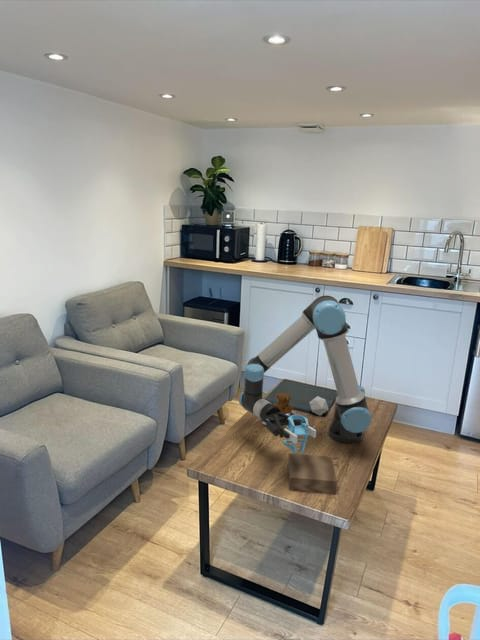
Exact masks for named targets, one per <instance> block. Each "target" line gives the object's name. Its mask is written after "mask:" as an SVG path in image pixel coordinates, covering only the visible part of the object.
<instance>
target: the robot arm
mask: <svg viewBox="0 0 480 640" xmlns="http://www.w3.org/2000/svg"><path fill="white" fill-rule="evenodd" d="M346 319H347V317H346V313H345V311H344V308H343V307H342V305H341V304H340V302H339V301H338V300H337V299H336V298H335V297H334V296H331V295H326V294H325V295H320V296H318V297H317V298H315V299H314V300H313V301H312V302H311V303H310V304H309V305H308V306H307V307H306V308H305V309H304V310H302V313H301V316H300V317H299V318H297V319H296V320H295V321H294V322H293V323H292V324H291V325H289V326H288V327H287V328H286V329H285V330H284V331H283V332H282V333H280V334H279V335H278V336H277V337H276V338H274V340H273V341H272V342H271V343H269V345H267V346H266V347H265V348H264V349H262V351H260V353H258V355H256V356H254V357H251V358H250V359H249V360H248V362H247V363H246V366H245V368H244V387H243V388H244V389H243V390H242V391H241V392H240V393H239V396H238V404H239V405H240V406H241V407H242V408H243V409H244V410H245V411H247V412H249V413H250V414H252V415H254V416H255V417H256V418H258V419H260V420H261V421H262V423H261V425H262V426H263V427H264V428H266V429H268V431H269V432H270V433H271V434H272V435H273V436H274V437H278V436H279V438H280V439H282V438H285V439H287V440H290V441H292V442H293V443H295V445H297V444H298V442H297V440H299V439H298V438H299V436H296V435H295V434H293V433H292V432H290V431H289V430H287V428H284V427H283V426H282V425H284V426H285V425H286V426H289V421H288V417H290V416H292V415H296V414H295V413H293V412H292V411H291V412H290V411H289V412H288V414H285V413H282V412H281V411H280V409H279V408H278V407H277V406H275V405H273V403H272V402H270V401H268V400H266V399H265V398H263V389H264V377H265V373H266V372H267V371H268V370H269V369H271V368H272V367H273V366H274V365H275V364H277V362H278V361H280V360H281V359H282V358H283V357H284V356H285V355H286V354H288V352H290V351H291V350H293V348H294V347H296V346H297V345H298V344H299V343H300V342H301V341H303V339H305V338H306V337H307V336H308V335H309V334H311V333H312V332H313V331H316V335H317V338H318V339H319V340H321V341H323V345H324V348H325V352H326V357H327V359H328V363H329V366H330V371H331V375H332V379H333V382H334V385H335V389H336V391H335V392H336V394H335V403H334V412H333V417H332V419H331V421H330V424H329V426H328V428H327V429H328V430H327V434H328V436H329V437H330V438H331V439H333V440H335V441H336V442H340V443H343V444H358V443H361V441H363V440H364V433H365V432H364V431H366V430H367V429H368V428H369V427H370V426H371V423H372V420H373V418H372V413H371V411H370V409H369V406H368V402H367V398H366V392H365V391H366V389H365V387H363V386H362V385H359V383H358V379H357V375H356V372H355V367H354V364H353V360H352V357H351V353H350V349H349V345H348V344H349V343H348V340H347V338H346V335H347V334H348V332H349V328H348V325H347V321H346ZM293 422H294V425H295V426H299V425H301V422H302V420H299V419H295V420H293ZM303 426H304V427H305V428H306V423H305V420H304V421H303ZM307 431H308V433H309V436H310V437H313V438H317V430H316V429H315V428H314V427H312V426H310V425H309V424H308V428H307Z"/></svg>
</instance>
